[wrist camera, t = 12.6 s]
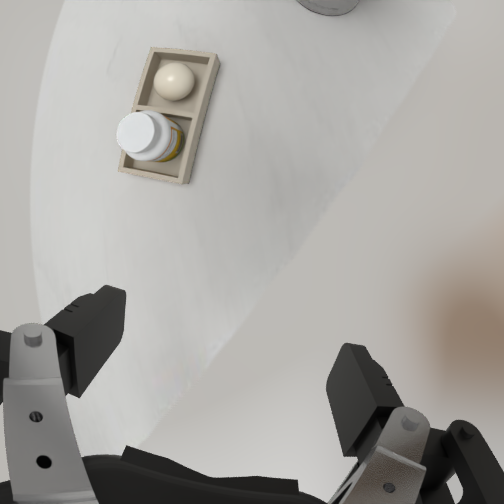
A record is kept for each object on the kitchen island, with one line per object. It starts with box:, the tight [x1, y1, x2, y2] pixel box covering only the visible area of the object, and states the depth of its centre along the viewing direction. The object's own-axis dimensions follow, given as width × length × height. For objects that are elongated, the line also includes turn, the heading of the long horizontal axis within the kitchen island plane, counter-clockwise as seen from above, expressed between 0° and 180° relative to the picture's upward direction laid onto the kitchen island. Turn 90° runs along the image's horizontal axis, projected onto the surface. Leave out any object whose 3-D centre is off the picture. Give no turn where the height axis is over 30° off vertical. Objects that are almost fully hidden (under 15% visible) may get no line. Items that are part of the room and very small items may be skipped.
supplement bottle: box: [116, 110, 185, 162], centre depth 30 cm, size 5×5×10 cm
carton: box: [118, 47, 220, 184], centre depth 33 cm, size 16×8×4 cm, turn 166°
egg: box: [153, 62, 195, 101], centre depth 31 cm, size 5×5×5 cm
